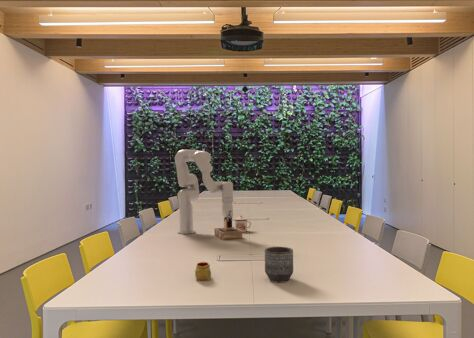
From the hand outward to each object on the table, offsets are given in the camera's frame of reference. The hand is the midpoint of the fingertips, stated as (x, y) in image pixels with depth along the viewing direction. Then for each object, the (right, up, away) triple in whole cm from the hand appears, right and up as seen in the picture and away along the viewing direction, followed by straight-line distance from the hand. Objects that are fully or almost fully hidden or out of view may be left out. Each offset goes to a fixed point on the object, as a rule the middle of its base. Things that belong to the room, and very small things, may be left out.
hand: (228, 226), depth 265 cm
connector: (0, -6, 0) cm, 6 cm away
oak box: (0, -7, 0) cm, 7 cm away
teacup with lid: (+11, -7, +21) cm, 24 cm away
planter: (+24, -9, -97) cm, 100 cm away
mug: (-9, -9, -91) cm, 92 cm away
